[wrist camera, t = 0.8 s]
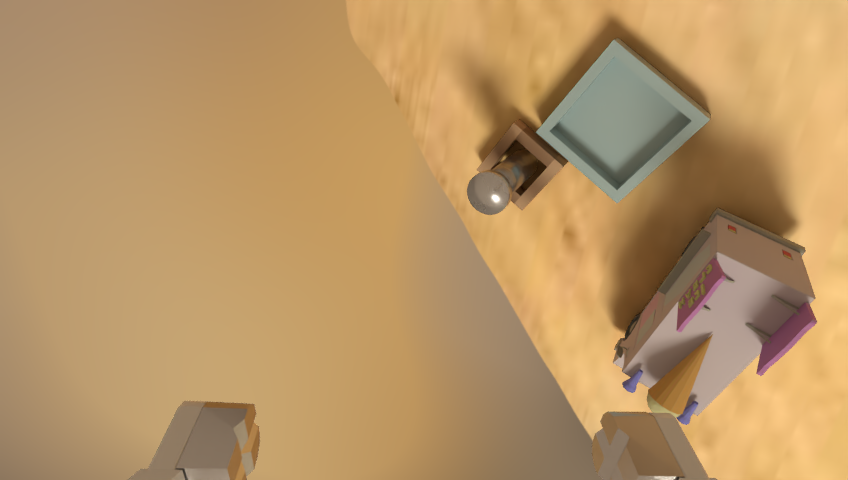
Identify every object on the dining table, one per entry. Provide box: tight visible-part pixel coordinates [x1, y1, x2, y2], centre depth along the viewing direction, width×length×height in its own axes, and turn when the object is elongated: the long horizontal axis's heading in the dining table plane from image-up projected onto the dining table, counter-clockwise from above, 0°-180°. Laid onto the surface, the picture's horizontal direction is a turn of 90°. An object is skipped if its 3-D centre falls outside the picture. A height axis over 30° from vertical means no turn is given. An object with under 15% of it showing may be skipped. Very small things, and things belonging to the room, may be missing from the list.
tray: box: [536, 38, 711, 203], centre depth 47 cm, size 11×11×2 cm
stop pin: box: [467, 149, 538, 215], centre depth 50 cm, size 4×4×11 cm
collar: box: [477, 119, 568, 210], centre depth 54 cm, size 7×7×2 cm
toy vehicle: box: [613, 208, 817, 425], centre depth 45 cm, size 9×20×15 cm, turn 162°
